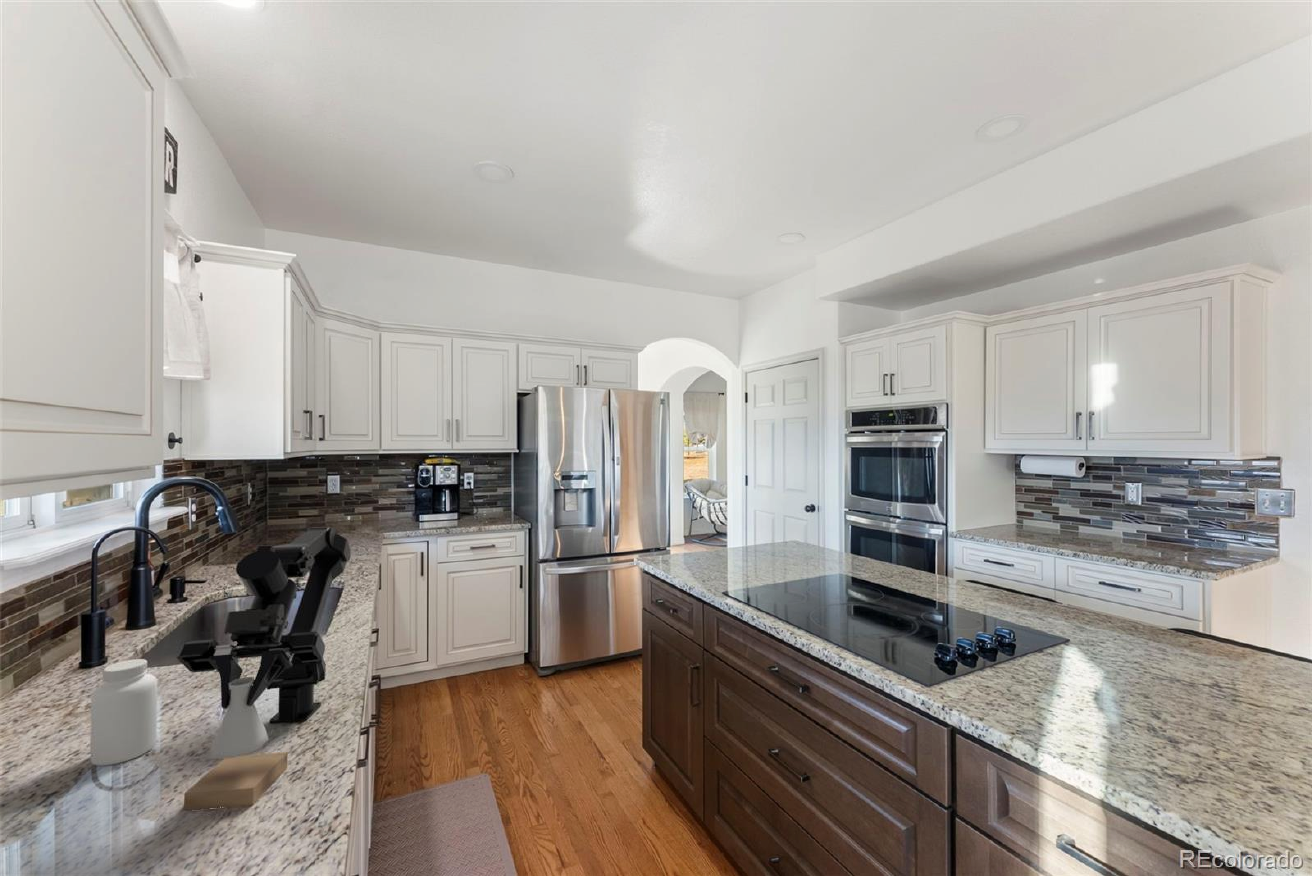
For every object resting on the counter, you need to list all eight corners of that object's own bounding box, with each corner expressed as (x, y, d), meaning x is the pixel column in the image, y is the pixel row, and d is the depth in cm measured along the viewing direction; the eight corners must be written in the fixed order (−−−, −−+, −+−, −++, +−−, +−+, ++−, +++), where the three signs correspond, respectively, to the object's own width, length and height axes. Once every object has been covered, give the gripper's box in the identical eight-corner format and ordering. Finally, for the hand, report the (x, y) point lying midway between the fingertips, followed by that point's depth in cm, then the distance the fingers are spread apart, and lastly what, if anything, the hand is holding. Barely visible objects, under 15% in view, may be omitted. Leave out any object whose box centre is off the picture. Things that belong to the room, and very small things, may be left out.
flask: (261, 754, 78) (263, 687, 78) (200, 765, 75) (202, 695, 75) (274, 730, 85) (276, 668, 85) (219, 739, 82) (220, 675, 82)
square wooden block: (225, 775, 84) (226, 756, 84) (286, 771, 85) (287, 752, 85) (183, 814, 75) (184, 793, 75) (252, 808, 76) (253, 788, 76)
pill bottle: (90, 753, 89) (93, 664, 89) (156, 735, 94) (158, 651, 95) (87, 774, 83) (90, 679, 83) (156, 753, 89) (159, 665, 89)
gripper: (185, 590, 82) (135, 694, 71) (320, 583, 87) (293, 678, 76) (211, 624, 89) (170, 722, 78) (334, 615, 94) (311, 706, 83)
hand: (236, 706), depth 79 cm, fingers closed on flask, 3 cm apart
